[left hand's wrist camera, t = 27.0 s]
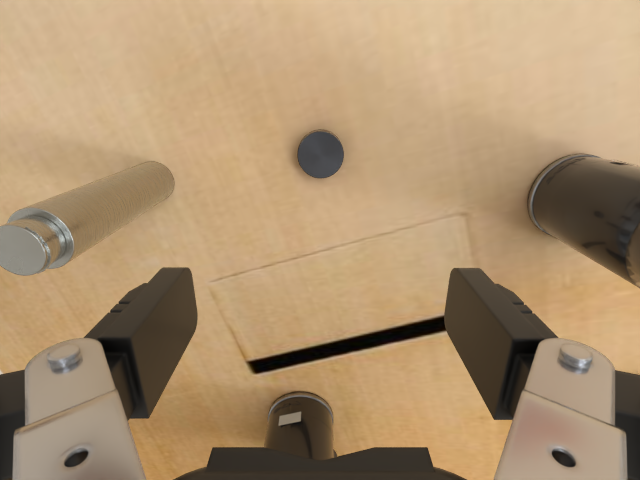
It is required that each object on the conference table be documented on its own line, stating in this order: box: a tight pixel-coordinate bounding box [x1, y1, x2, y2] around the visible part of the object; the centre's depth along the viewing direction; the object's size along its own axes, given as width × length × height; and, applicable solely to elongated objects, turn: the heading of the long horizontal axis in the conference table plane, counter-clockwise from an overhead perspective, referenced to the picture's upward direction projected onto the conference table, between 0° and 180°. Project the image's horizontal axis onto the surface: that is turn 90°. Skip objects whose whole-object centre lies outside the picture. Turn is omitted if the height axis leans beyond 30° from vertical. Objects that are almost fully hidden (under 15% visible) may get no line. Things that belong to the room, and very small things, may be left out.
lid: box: [298, 130, 344, 178], centre depth 38 cm, size 5×5×2 cm
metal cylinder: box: [0, 162, 174, 275], centre depth 31 cm, size 4×4×20 cm
